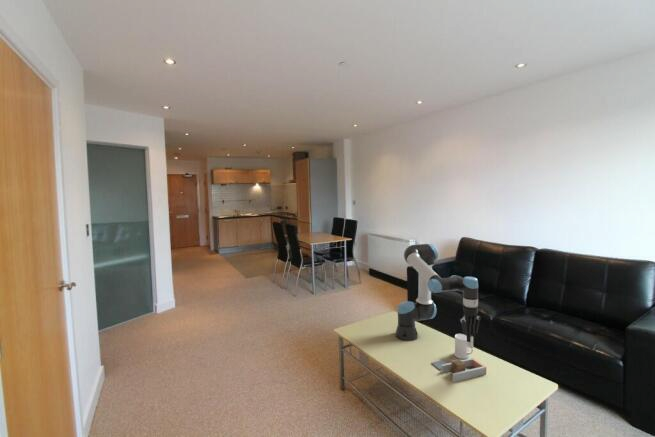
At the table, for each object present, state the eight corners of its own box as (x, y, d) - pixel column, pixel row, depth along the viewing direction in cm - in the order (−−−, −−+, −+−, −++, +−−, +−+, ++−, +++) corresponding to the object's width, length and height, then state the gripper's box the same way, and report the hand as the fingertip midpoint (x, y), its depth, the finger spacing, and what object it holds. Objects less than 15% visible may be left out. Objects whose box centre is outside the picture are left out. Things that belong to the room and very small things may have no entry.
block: (451, 372, 176) (451, 360, 175) (458, 371, 177) (458, 359, 177) (457, 377, 171) (457, 365, 170) (465, 375, 172) (465, 363, 172)
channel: (441, 371, 177) (441, 364, 177) (472, 364, 183) (472, 357, 183) (454, 382, 167) (454, 374, 167) (486, 374, 173) (486, 367, 173)
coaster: (431, 363, 186) (431, 362, 186) (442, 360, 188) (442, 359, 188) (439, 370, 178) (439, 369, 178) (451, 367, 181) (451, 366, 180)
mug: (477, 359, 188) (477, 340, 187) (465, 363, 185) (465, 343, 184) (462, 351, 199) (462, 332, 198) (451, 353, 196) (451, 335, 195)
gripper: (465, 309, 168) (465, 352, 170) (485, 306, 172) (485, 348, 174) (455, 304, 175) (455, 346, 177) (475, 301, 179) (474, 342, 181)
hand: (470, 347), depth 175 cm, fingers closed
